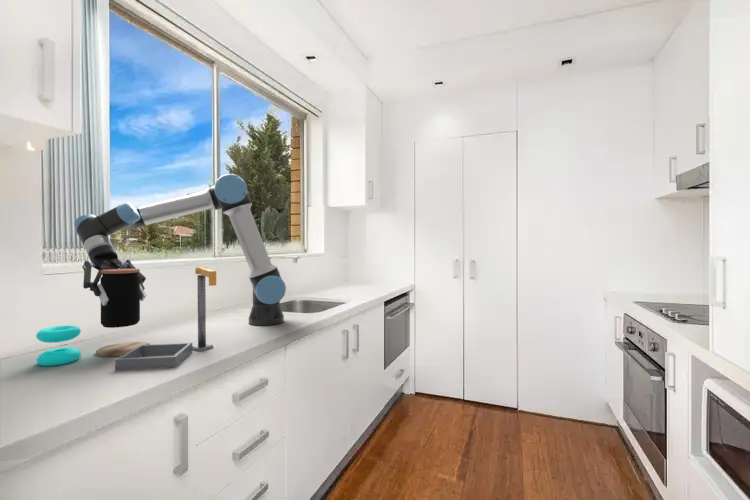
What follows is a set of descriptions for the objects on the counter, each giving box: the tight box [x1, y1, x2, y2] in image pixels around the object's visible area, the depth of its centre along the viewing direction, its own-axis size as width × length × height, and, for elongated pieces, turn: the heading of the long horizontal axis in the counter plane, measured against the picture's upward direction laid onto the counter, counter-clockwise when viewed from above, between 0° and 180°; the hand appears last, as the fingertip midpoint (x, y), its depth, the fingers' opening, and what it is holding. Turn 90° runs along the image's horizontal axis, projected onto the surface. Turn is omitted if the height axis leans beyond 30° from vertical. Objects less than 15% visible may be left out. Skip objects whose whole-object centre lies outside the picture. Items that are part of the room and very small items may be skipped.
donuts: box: [36, 325, 82, 367], centre depth 111 cm, size 10×10×10 cm
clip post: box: [192, 274, 214, 352], centre depth 125 cm, size 5×5×24 cm
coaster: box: [95, 341, 152, 358], centre depth 123 cm, size 15×15×1 cm
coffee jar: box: [100, 268, 141, 329], centre depth 122 cm, size 11×11×18 cm
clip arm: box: [194, 266, 217, 287], centre depth 117 cm, size 22×4×4 cm, turn 34°
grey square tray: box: [114, 342, 193, 372], centre depth 112 cm, size 15×15×3 cm
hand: (125, 300), depth 121 cm, fingers closed on coffee jar, 11 cm apart
